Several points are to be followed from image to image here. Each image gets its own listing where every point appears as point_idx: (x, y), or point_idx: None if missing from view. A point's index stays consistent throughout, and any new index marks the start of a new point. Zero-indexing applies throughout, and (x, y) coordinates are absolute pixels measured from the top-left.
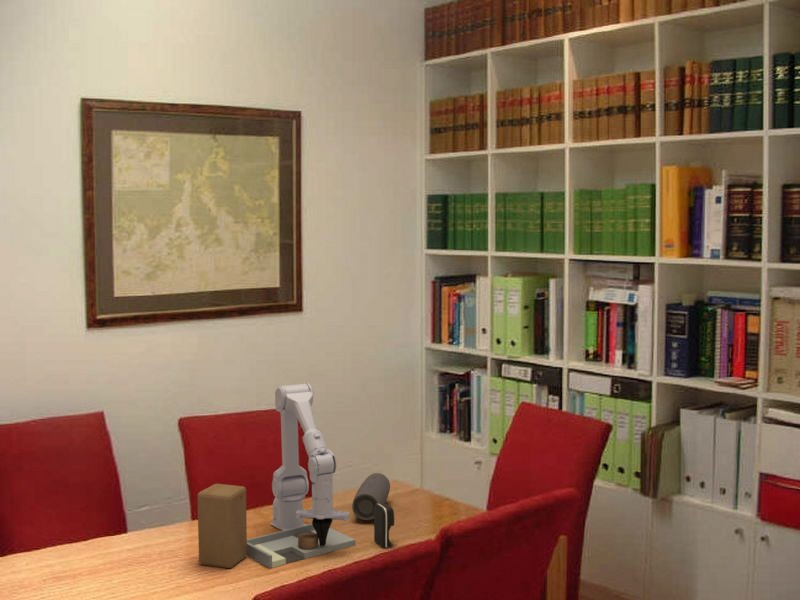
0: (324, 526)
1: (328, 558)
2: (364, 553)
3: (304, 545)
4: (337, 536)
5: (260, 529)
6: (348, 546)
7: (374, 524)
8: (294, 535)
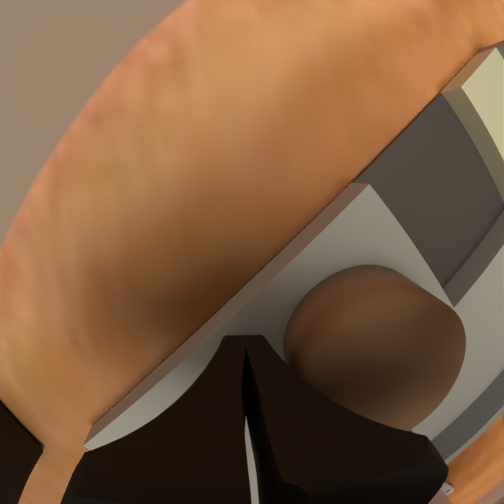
0: (183, 457)
1: (172, 215)
2: (8, 322)
3: (395, 276)
4: None
5: (484, 454)
6: (111, 410)
7: (12, 497)
8: None
